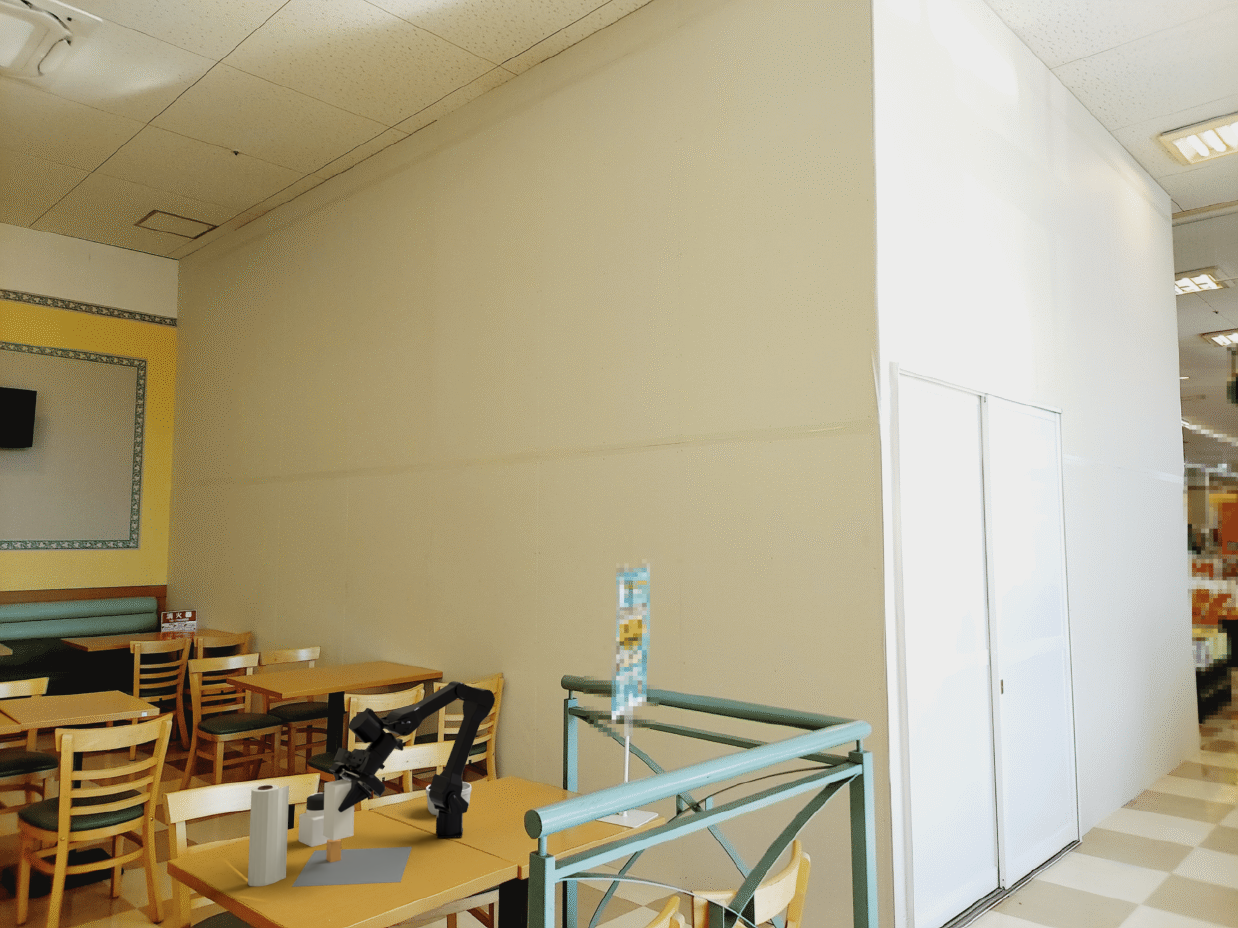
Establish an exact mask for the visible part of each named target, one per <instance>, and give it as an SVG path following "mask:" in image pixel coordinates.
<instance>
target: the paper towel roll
mask: <svg viewBox="0 0 1238 928" xmlns="http://www.w3.org/2000/svg"><path fill="white" fill-rule="evenodd" d="M250 791H251V792H250V793H251V795H250V817H249V818H250V819H249V820H250V821H249V822H250V824H249V843H248V844H249V847H248V870H247V871H248V872H247V885H248V886H249V887H265V886H268V885H272V884H274V883H277V882H279V881H281V880H283V879H286V878H287V857H288V856H287V854H288V853H287V851H288V830H289V829H288V828H289V827H288V825H289V824H288V822H289V801H290V800H289V799H290V796H289V795H290V794H289V793H290V785H285V786H282V787H280V785H278V784H277V785H276V784H262V785H261V784H260V785H257V786H254V787H252V788H251V790H250Z"/></svg>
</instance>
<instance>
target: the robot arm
mask: <svg viewBox="0 0 1238 928" xmlns="http://www.w3.org/2000/svg"><path fill="white" fill-rule="evenodd" d="M457 700H460V701H463V702H462V712H463V713H462V717H463V718H462V721H461V723H460V726H459V729H458V732H457V734H456V737H455V740H454V743H453V745H452V748H451V749H450V750H451V751H450V754H449V756H448V758H447V762H446V764H445V767H444V769H443V771H442V772H441V773H440V774H437V773H434V775H433V777H432V781H431V783H430V784H429V785H430V787H429V788H428V789H430V792H429V797H430V800H431V802H432V803H433V804H434V808H435V809H438V810H439V813H438V815H436V818H435V822H436V823H435V834H436V838H437V839H445V838H444V837H446V839H447V838H448V839H450V838H451V837H454V838H463V834H464V833H463V832H464V827H463V825H464V824H463V820H464V818H463V816H464V813H467V812H468V809H469V807H470V803H469V804H468V803H467V802H466V801H465V800H464V799H463V798H462V797H461V793H462V789H463V785H462V782H463V773H464V770H465V767H466V764H467V762H468V759H469V756H470V753H471V750H472V747H473V744H474V741H475V739H476V737H477V733H478V731H479V728H480V726H481V723H483V721H484V720H485V719H486V718H487V717H488V716H489V715H490V713H491V711H492V709H493V707H494V705H495V702H496V697H495V695H494V692H493V691H492V690H490V689H486V688H481V687H475V686H474V687H473V686H470V685H467V684H465V683H463V682H460V681H455V680H454V681H450V682H449V683H448V684H447V685H445V686H443V687H442V688H440V689H438V690H436V691H435V692H433V693H432V694H430V695H428V696H426V697H425V698H423V699H421V700H419V701H417V702H416V703H414V704H411V705H406V706H402V707H399V708H397V709H394V710H391V711H390V712H388V714H386V715H385V716H382V717H379V716H378V715H377V714H376V712H375V711H374V710H373V709H372V708H371V707H370V708H369V707H366V708H365V710H364V711H361V712H359V713H357V714H356V715H354V716H353V718H351V720H350V721H349V723H348V729H349V730H350V731H351V732H352V734H354V735H355V736H356V737H357V738H358V739H359V740H360V741H362V743H363V744H368V746H367V747H366V748H365V749H357V748H354V749H353V750H352V751H351V750H347V749H345V748H341V747H338V749H337V753H336V755H335V757H334V759H333V761H335V762H333V763H332V764H331V766H330V767H329V768H328V770H329V772H331V773H333V777H334V781H338V780H343V779H345V780H348V781H351V789H350V791H349V792H348V794H347V796H346V797H345V799H344V800H343V802H342V803H341V805H340V807H339V808H338V811H339V812H343V811H345V810H346V809H348V808H350V807H352V806H353V805H354V806H355V805H357V804H359V803H360V802H362V801H364V800H366V799H368V798H372V797H373V795H374V796H377V797H379V798H380V797H381V796H382V795H383V794H384V793H385V791H386V784H385V783H384V782H382V780H380V778H378V777H377V776H376V773H377V772H378V771H379V770H382V771H383V770H384V768H385V767H386V766H385V764H384V763H385V762H386V760H387V759H388V758H389V757H390V756H391V754H392V753H393V751H394V750H398V751H401V752H402V751H404V744H403V742H404V740H403V739H401V738H400V737H399V738H397V737H396V736H395V735H398V736H403V737H407V736H409V735H411V734H412V733H413V732H415V731H416V730H418V728H419V727H421V725H422V723H423V721H425V719H427V718H428V717H430V716H431V715H433V714H436V712H438V711H441V709H443V708H445V707H447V705H449V704H452V703H453V702H455V701H457ZM385 730H387V731H388V732H386V731H385ZM394 734H395V735H394ZM372 792H373V793H372ZM468 806H469V807H468Z"/></svg>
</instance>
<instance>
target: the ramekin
mask: <svg viewBox="0 0 1238 928" xmlns="http://www.w3.org/2000/svg"><path fill="white" fill-rule="evenodd" d="M430 785H431V784H428V785H427V786H426V787H425V794H426V802H427V803H426V804H427V810H428V811H429V813H430V814H431V815H434V816H437V815H438V813H439V810H438V809H435V808H434V804H433V803H432V802H431V800H430V797H429V792H430V789H428V788H429V787H430ZM462 785H463V789H462V793H461V797H462V798H463V799H464V800H465V801H466V802H467V803H468V804H469V806H468V808H469V807H470V801H471V800H470V799H471V793H472V788H473V787H472V784H471V783H469V782H466V781H462Z"/></svg>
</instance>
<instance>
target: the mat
mask: <svg viewBox="0 0 1238 928" xmlns="http://www.w3.org/2000/svg"><path fill="white" fill-rule="evenodd" d="M412 848H413V847H412V846H399V847H395V846H394V847H372V848H369V847H368V848H348V849H346V848H345V849H342V848H341V860H339V861H335V862H331V863H330V862H329V861H327V860H326V853H327V849H324V850H323V849H322V850H321V849H319V850H314V851H313V853H312V854H311V856H310V857H309V859H308V861H307V862H306V864H305V865H304V867H303V868H302V870H301V871H300V873H299V874H298V876H297V878H296V879H295V881H294V882H293V883H292V886H291V888H293V887H296V888H297V887H299V888H301V887H319V886H320V887H321V886H323V887H324V886H343V885H344V886H345V885H364V884H388V883H389V884H390V883H401V881H402V880H403V875H404V872H405V869H406V866H407V863H408V862H409V861H408V860H409V857H410V855H411V851H412Z"/></svg>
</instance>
